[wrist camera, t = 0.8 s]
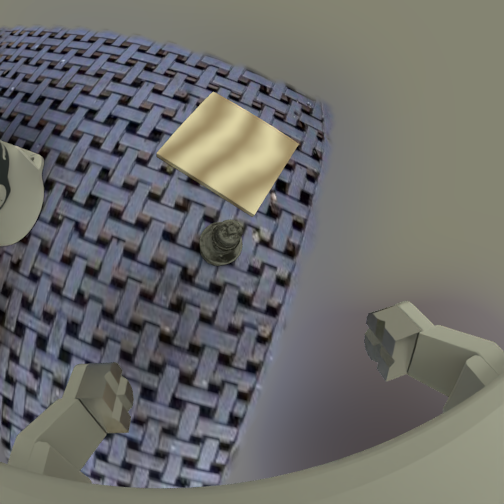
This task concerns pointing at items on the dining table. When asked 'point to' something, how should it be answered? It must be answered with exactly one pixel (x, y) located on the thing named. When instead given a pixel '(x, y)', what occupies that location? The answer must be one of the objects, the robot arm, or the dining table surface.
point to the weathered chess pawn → (221, 242)
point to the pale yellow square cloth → (229, 152)
